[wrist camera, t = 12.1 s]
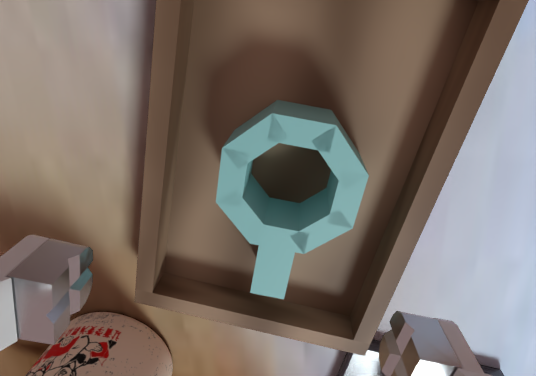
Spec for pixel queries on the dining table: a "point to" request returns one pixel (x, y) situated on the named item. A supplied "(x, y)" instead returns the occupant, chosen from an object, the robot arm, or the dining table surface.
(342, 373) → the post stand
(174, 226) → the walnut tray
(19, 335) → the robot arm
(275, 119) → the teal ring
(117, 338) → the teacup with lid
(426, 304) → the dining table surface
